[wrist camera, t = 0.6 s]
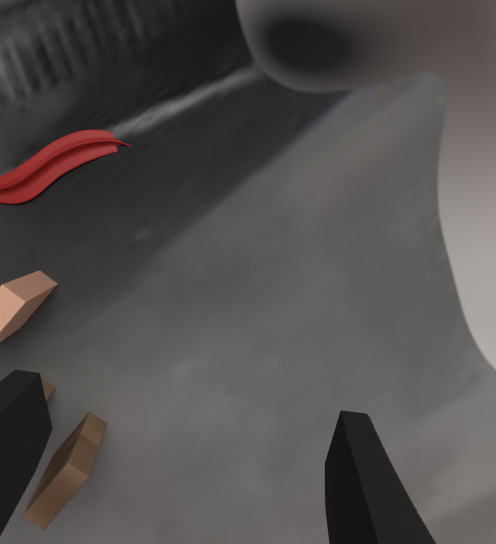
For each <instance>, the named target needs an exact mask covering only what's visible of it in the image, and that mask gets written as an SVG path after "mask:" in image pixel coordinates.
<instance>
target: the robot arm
mask: <svg viewBox="0 0 496 544" xmlns="http://www.w3.org/2000/svg"><path fill="white" fill-rule="evenodd" d="M51 431H52V425H51V420H50V416H49V411H48V407H47V403H46V398H45V394H44V389H43V385H42V380H41V376H40V373H35V372H27V371H19V370H14V371H13V372H12V373H10V374H9V375H8V376H7V377H5V378H4V379H3V380H1V381H0V535H1V534H2V532H3V530H4V528H5V526H6V525H7V523H8V521H9V519H10V517H11V515H12V514H13V512H14V510H15V508H16V506H17V505H18V503H19V501H20V499H21V497H22V495H23V493H24V492H25V490H26V488H27V486H28V484H29V482H30V480H31V479H32V477H33V475H34V473H35V471H36V469H37V466H38V464H39V461H40V459H41V457H42V454H43V452H44V449H45V447H46V444H47V442H48V439H49V436H50V434H51ZM325 508H326V517H327V526H328V535H329V543H330V544H436V543H435V541H434V539H433V538H432V536H431V534H430V533H429V531H428V529H427V528H426V526H425V524H424V523H423V521H422V519H421V517H420V516H419V514H418V512H417V510H416V508H415V507H414V505H413V503H412V501H411V499H410V498H409V496H408V494H407V492H406V490H405V489H404V487H403V485H402V483H401V481H400V479H399V477H398V475H397V473H396V472H395V470H394V468H393V466H392V464H391V462H390V460H389V458H388V456H387V454H386V451H385V449H384V447H383V445H382V443H381V441H380V439H379V437H378V435H377V432H376V430H375V428H374V426H373V423H372V421H371V419H370V417H369V416H368V415H367V414H365V413H357V412H349V411H340V415H339V418H338V421H337V425H336V428H335V431H334V435H333V438H332V441H331V445H330V448H329V451H328V455H327V458H326V461H325Z"/></svg>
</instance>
